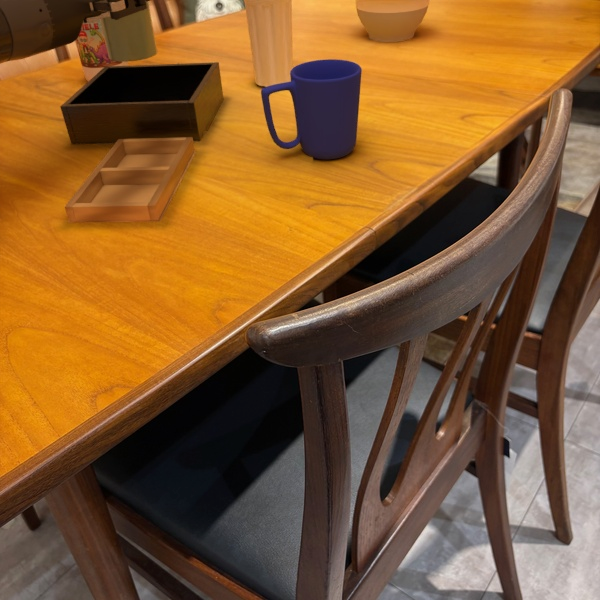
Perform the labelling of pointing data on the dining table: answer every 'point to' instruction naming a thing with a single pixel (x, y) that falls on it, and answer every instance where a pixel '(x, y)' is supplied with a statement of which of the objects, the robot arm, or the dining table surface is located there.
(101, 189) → the divided wooden tray
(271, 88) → the mug
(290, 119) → the dining table surface
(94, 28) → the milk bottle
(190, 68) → the dark brown open box
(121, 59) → the tumbler
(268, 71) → the cup
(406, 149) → the dining table surface
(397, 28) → the bowl
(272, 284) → the dining table surface
